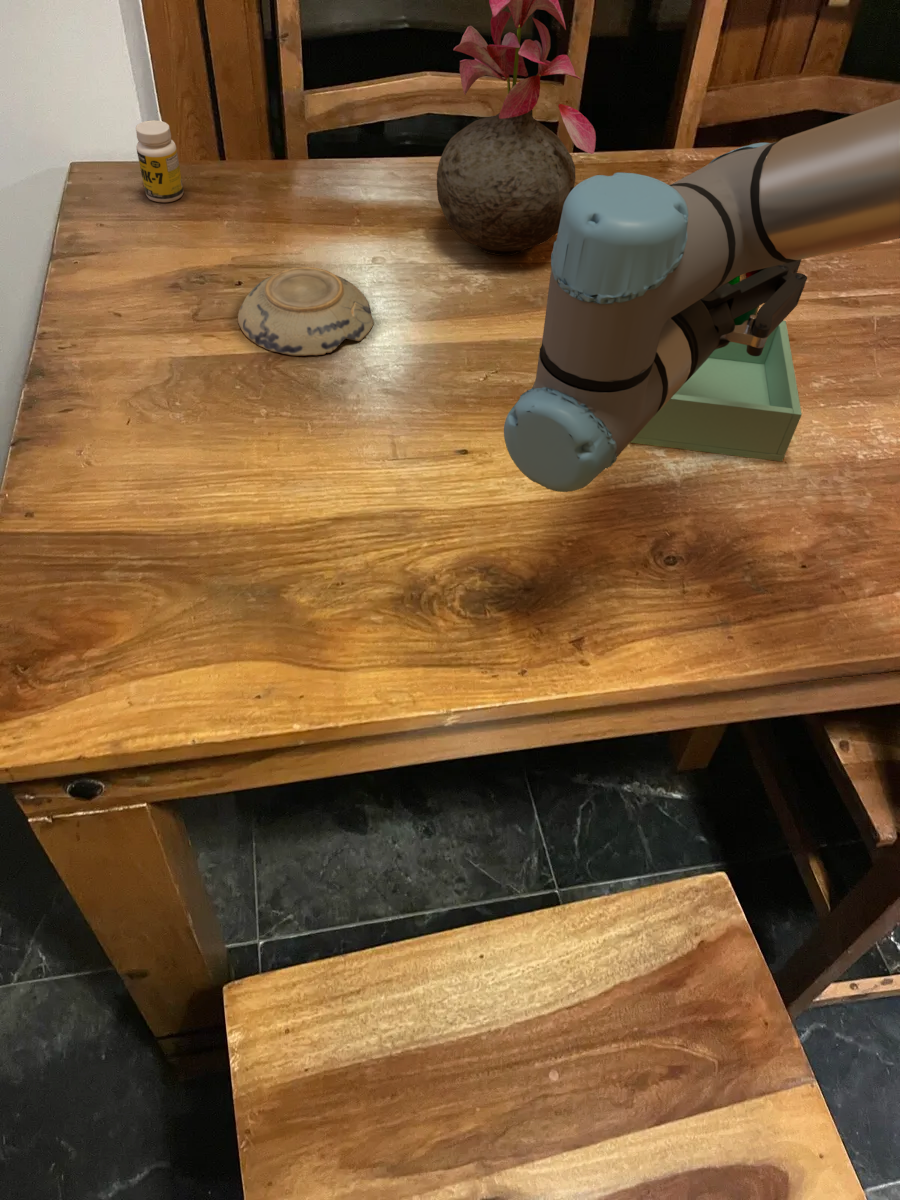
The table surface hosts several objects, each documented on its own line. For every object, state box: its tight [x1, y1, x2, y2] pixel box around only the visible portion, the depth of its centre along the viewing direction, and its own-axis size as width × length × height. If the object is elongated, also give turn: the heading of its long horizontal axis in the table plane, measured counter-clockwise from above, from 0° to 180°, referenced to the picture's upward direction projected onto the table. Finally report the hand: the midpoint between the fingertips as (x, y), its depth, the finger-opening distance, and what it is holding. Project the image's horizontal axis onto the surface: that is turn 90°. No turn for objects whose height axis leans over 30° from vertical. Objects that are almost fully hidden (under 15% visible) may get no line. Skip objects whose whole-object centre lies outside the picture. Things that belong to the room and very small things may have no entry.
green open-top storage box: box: [629, 320, 803, 462], centre depth 94 cm, size 16×16×6 cm
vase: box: [436, 0, 597, 256], centre depth 104 cm, size 17×17×30 cm
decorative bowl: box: [237, 266, 374, 357], centre depth 102 cm, size 15×4×15 cm
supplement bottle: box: [135, 120, 184, 204], centre depth 116 cm, size 5×5×8 cm
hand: (768, 231), depth 84 cm, fingers closed on soda can, 5 cm apart
